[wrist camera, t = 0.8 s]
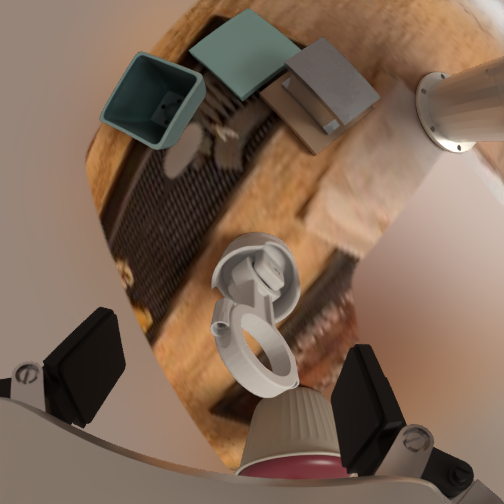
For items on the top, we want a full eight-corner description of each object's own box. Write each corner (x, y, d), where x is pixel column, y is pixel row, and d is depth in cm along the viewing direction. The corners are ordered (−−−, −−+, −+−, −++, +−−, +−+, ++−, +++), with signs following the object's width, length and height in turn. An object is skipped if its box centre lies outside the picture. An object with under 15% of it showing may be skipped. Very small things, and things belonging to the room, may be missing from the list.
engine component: (260, 216, 34) (205, 265, 37) (250, 279, 15) (145, 362, 17) (314, 276, 36) (259, 319, 39) (354, 383, 17) (249, 437, 19)
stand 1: (249, 14, 26) (248, 7, 24) (301, 57, 28) (302, 51, 26) (192, 56, 28) (188, 50, 26) (242, 101, 30) (240, 97, 28)
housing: (281, 86, 27) (284, 61, 20) (311, 64, 26) (323, 36, 19) (326, 135, 29) (345, 125, 21) (356, 112, 28) (380, 97, 20)
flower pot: (220, 97, 30) (204, 74, 21) (184, 155, 32) (157, 151, 24) (166, 73, 29) (138, 49, 21) (133, 128, 32) (97, 119, 23)
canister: (357, 400, 43) (383, 491, 23) (287, 440, 48) (288, 523, 27) (297, 353, 40) (310, 471, 20) (222, 403, 45) (203, 500, 24)
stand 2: (317, 55, 27) (320, 49, 25) (369, 111, 29) (374, 108, 27) (259, 97, 30) (259, 92, 28) (313, 155, 32) (316, 154, 30)
